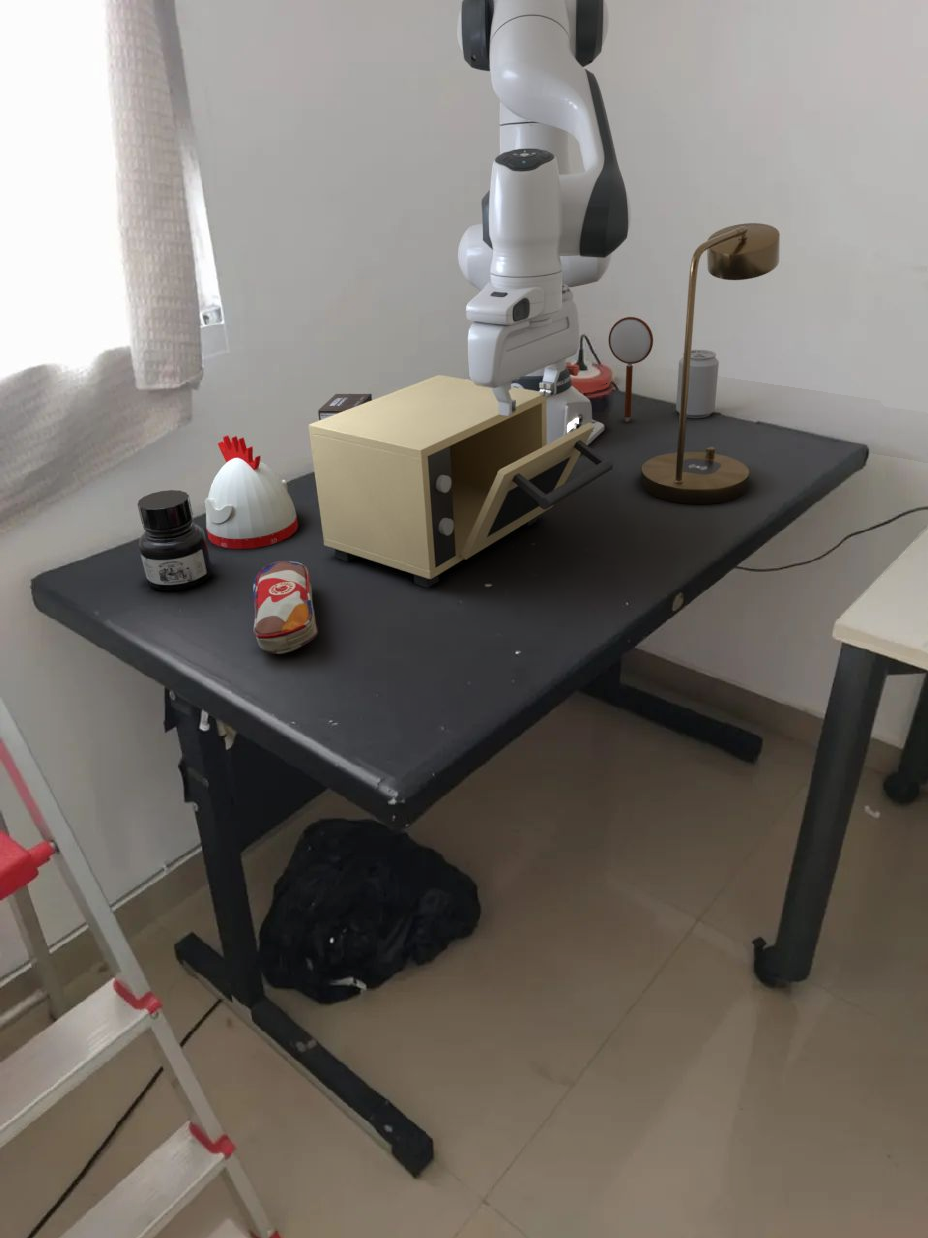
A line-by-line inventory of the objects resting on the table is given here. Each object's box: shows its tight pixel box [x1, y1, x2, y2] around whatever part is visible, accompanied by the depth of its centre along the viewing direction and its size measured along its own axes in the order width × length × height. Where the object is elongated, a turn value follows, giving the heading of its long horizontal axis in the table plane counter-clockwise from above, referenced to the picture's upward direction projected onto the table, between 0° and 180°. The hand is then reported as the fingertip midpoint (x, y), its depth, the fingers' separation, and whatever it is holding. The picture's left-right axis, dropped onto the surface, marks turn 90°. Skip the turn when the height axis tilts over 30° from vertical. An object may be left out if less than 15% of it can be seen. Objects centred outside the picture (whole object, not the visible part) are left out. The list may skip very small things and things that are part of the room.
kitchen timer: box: [204, 434, 299, 550], centre depth 144 cm, size 14×14×15 cm
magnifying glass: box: [608, 316, 654, 423], centre depth 179 cm, size 9×2×20 cm, turn 62°
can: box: [675, 349, 720, 419], centre depth 184 cm, size 8×8×12 cm
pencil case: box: [252, 560, 319, 655], centre depth 120 cm, size 11×20×5 cm, turn 177°
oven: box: [308, 374, 547, 589], centre depth 136 cm, size 28×21×20 cm
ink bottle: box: [136, 489, 212, 592], centre depth 131 cm, size 10×9×12 cm
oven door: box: [461, 423, 614, 560], centre depth 129 cm, size 22×7×15 cm, turn 142°
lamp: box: [640, 222, 781, 505], centre depth 149 cm, size 17×27×38 cm, turn 145°
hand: (528, 404), depth 124 cm, fingers open, 8 cm apart
